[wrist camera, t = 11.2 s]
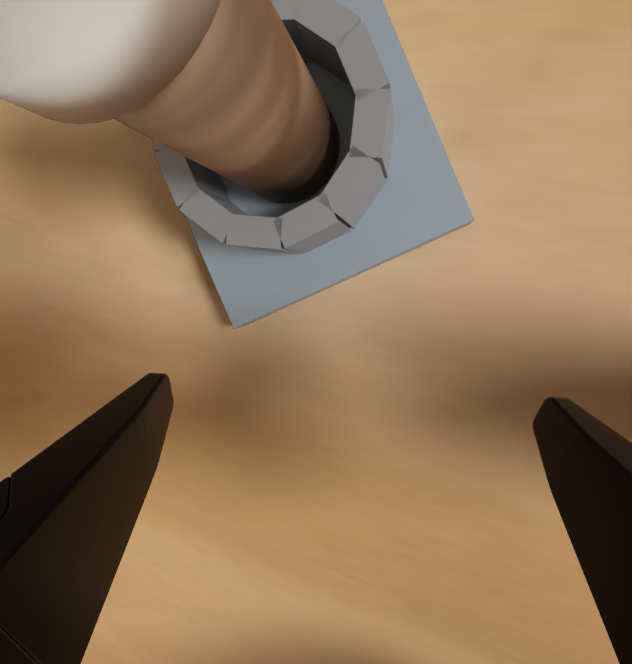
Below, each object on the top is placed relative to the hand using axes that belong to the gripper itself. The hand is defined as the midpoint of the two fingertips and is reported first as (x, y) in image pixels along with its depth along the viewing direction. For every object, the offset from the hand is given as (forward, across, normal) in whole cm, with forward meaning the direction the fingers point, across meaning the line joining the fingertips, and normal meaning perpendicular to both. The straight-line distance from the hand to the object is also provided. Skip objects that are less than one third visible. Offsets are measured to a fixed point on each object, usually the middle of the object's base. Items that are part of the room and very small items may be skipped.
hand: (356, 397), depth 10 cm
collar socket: (+14, +2, -2) cm, 14 cm away
